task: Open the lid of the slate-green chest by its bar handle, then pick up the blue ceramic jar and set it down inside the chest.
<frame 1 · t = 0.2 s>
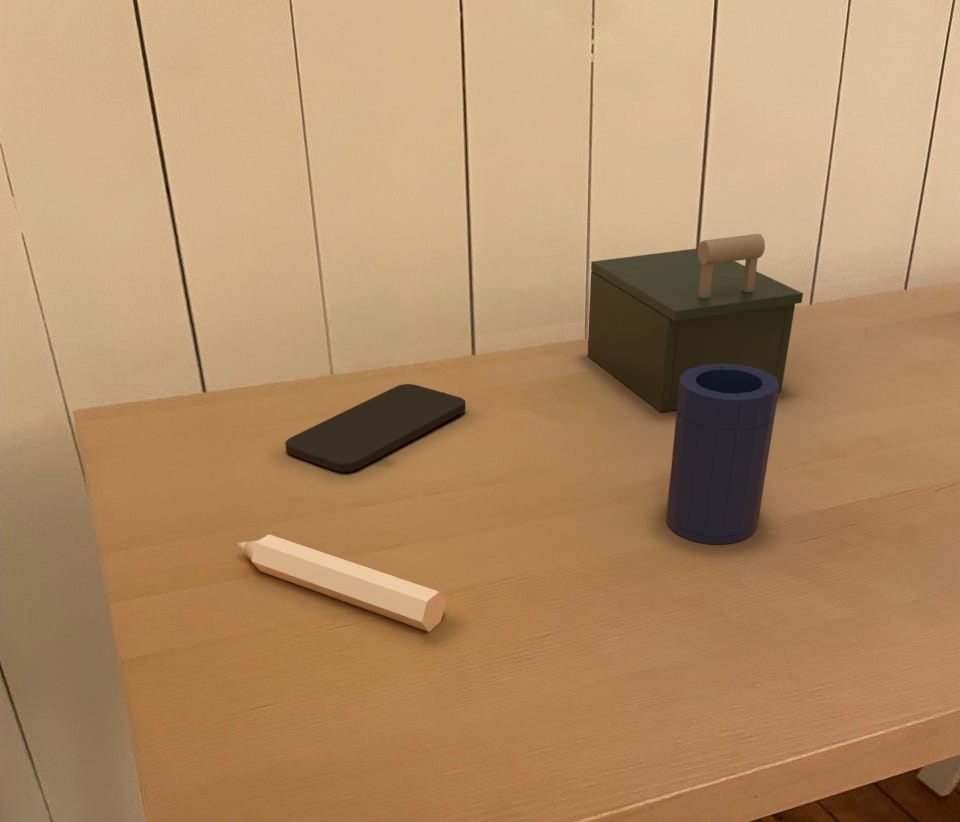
phone: (379, 432, 82), on the table
wooden pencil: (329, 591, 63), on the table
jar: (711, 522, 68), on the table
lid: (694, 254, 85), point 10 cm above the table, hinge at 0.0°
chest: (679, 373, 91), on the table
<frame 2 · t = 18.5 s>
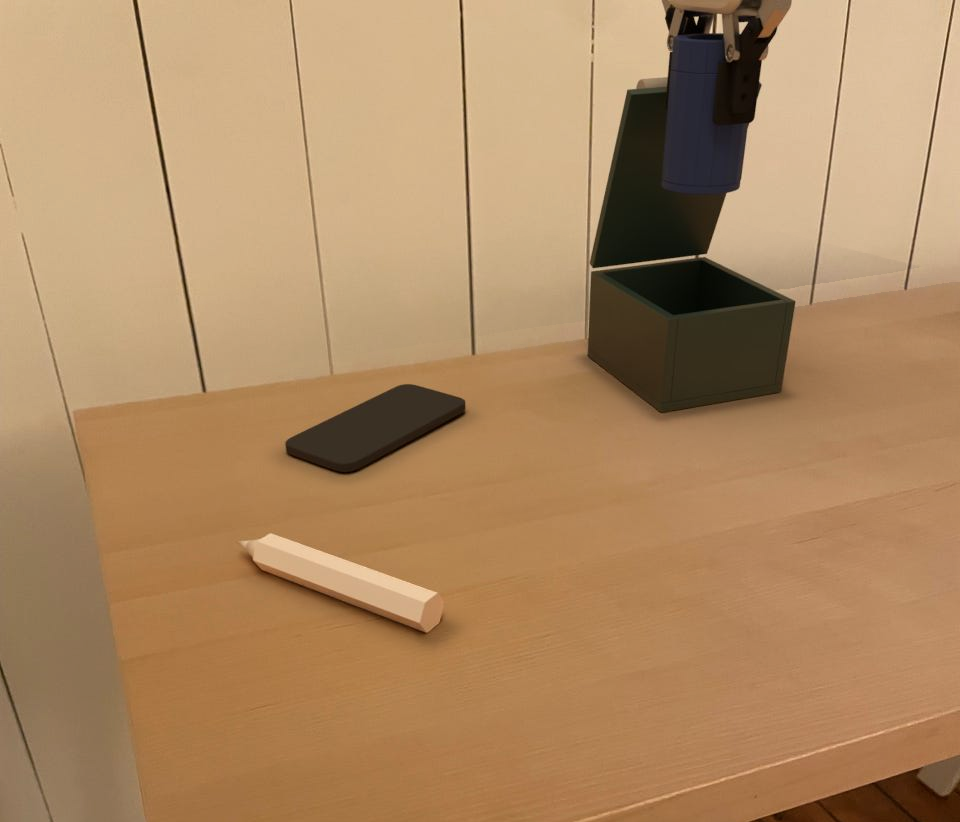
hand: (708, 114, 76), 21 cm above the table, tool pointing down, fingers closed on jar, 6 cm apart
jar: (700, 186, 79), point 16 cm above the table, touching gripper
lid: (659, 164, 87), point 16 cm above the table, hinge at 69.1°, touching gripper
everything else where it was.
when the fingers open (6 cm above the table, at t = 22.6 s): jar stays where it is, resting on chest.
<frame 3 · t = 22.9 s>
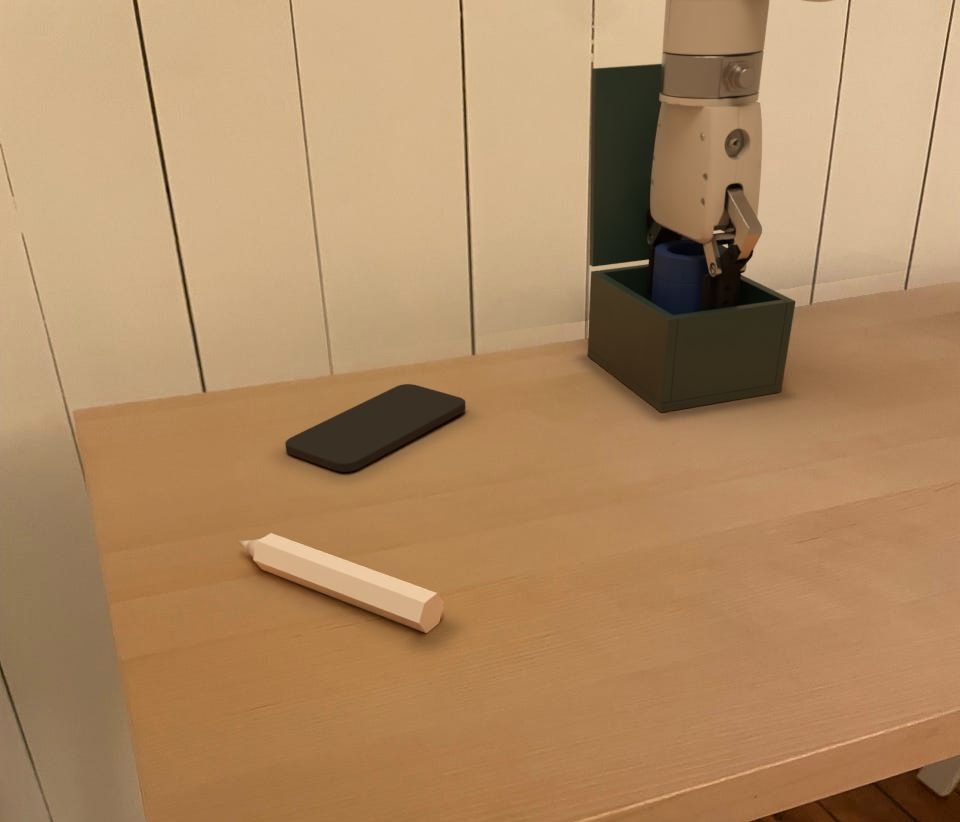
hand: (689, 305, 87), 6 cm above the table, tool pointing down, fingers open, 8 cm apart
jar: (680, 364, 90), point 1 cm above the table, touching chest
lid: (641, 163, 89), point 16 cm above the table, hinge at 93.8°, touching gripper
everything else where it was.
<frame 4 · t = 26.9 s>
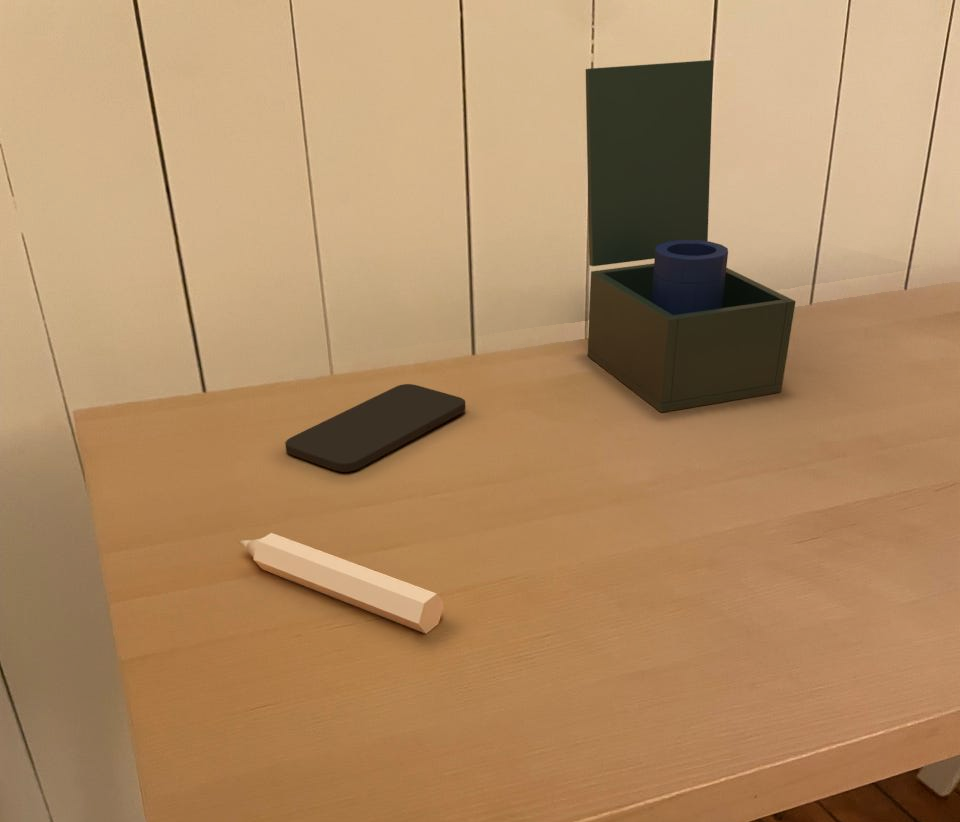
lid: (638, 165, 90), point 16 cm above the table, hinge at 98.4°
everything else where it was.
at the end: lid at +98° (first picture: +0°); jar inside the target area in the chest (0.0 cm from its centre), point 0.8 cm above the chest's base; jar tilted 0° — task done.
